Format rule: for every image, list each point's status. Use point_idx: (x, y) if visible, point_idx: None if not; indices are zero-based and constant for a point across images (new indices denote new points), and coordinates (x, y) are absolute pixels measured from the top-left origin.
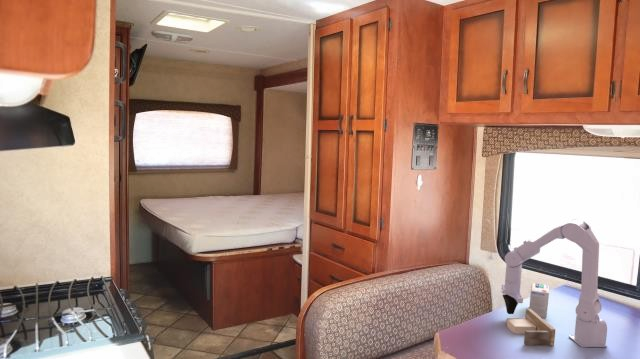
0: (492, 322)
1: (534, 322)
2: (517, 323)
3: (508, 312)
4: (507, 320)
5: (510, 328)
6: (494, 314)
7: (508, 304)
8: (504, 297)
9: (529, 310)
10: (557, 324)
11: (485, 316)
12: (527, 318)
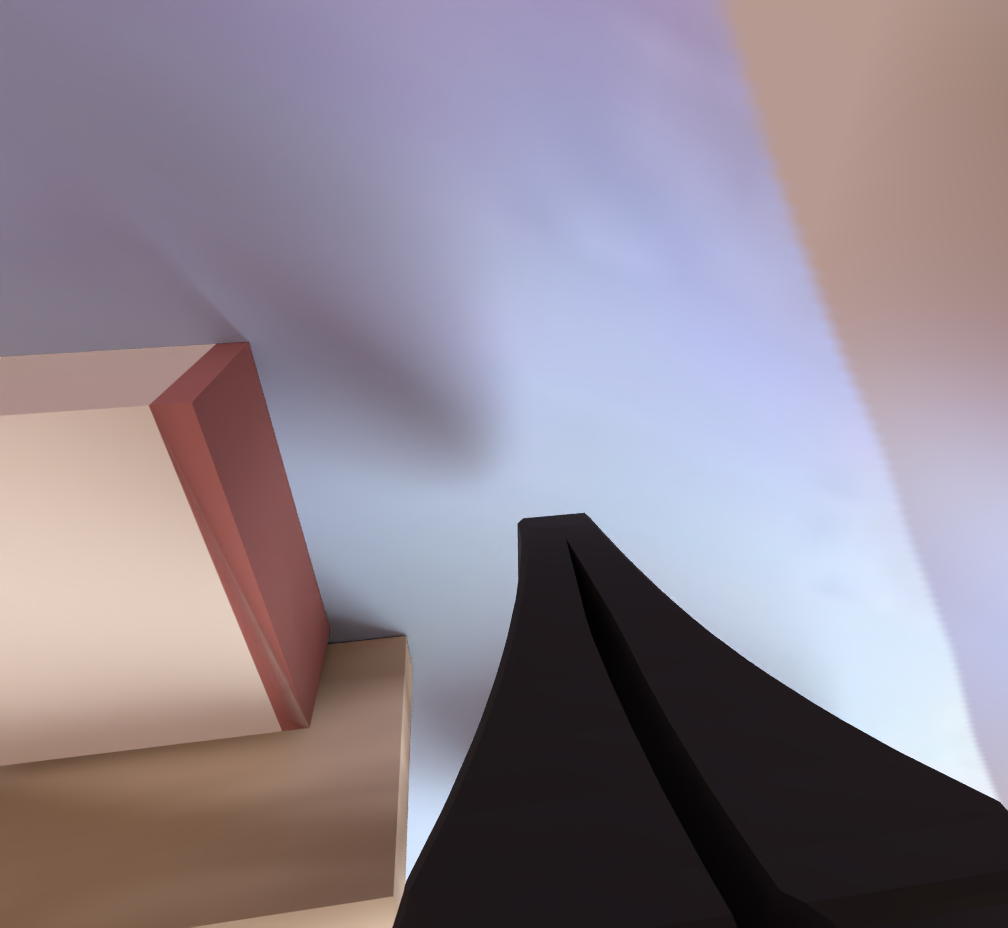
0: (342, 59)
1: (82, 794)
2: None
3: (522, 538)
4: (147, 393)
5: (28, 363)
6: (753, 294)
7: (487, 710)
8: (790, 865)
9: (291, 918)
10: (419, 850)
11: (695, 9)
12: (343, 727)
